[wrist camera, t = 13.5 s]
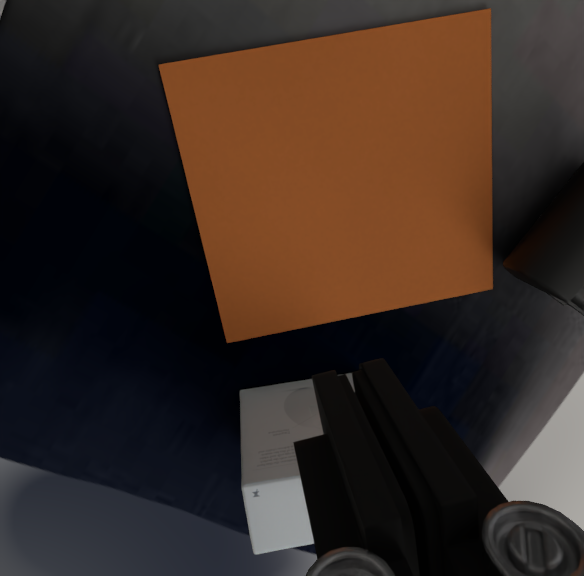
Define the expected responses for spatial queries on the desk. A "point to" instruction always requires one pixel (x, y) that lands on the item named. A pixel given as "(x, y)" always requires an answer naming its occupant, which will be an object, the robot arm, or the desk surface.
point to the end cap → (555, 247)
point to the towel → (340, 171)
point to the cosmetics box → (276, 462)
